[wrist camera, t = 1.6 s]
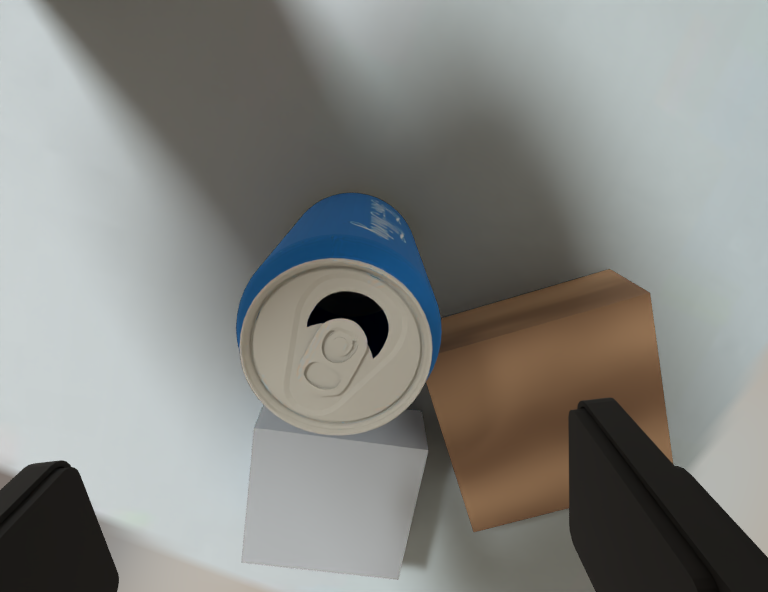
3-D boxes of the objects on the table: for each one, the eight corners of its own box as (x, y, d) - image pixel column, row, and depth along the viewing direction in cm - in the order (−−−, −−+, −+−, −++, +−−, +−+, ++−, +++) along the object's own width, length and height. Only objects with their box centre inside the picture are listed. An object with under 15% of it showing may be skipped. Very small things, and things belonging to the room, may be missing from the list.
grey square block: (270, 387, 28) (253, 427, 24) (421, 408, 29) (428, 450, 25) (257, 509, 31) (241, 562, 27) (395, 526, 32) (398, 579, 28)
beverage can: (437, 228, 25) (490, 310, 14) (378, 330, 27) (382, 477, 16) (324, 167, 24) (280, 201, 13) (271, 278, 26) (190, 395, 14)
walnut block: (412, 326, 27) (418, 359, 23) (609, 269, 26) (649, 292, 22) (461, 481, 30) (473, 532, 26) (636, 435, 29) (675, 480, 26)
